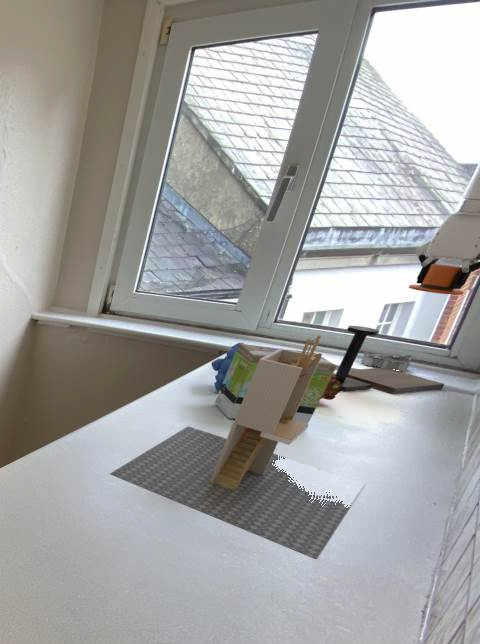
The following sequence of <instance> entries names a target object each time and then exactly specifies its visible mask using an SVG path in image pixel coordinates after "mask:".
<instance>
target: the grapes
mask: <svg viewBox="0 0 480 644" xmlns="http://www.w3.org/2000/svg"><path fill="white" fill-rule="evenodd" d="M239 344H245V343H244V342H238V343H235V344H234V345H232V346H231V347H230V349H229V350H227V351H226V352H225V353H226V356H224V358H217V359H215V360H214V361H211V363H210V364H211V367H212V370H214V371H215V372H217V373H216V374H215V375H214V379H215V382H214V383H213V384H214V388H215V389H216V391H217V392H219V391H220V389H221V386H222V384H223V381H224V379H225V376H226V374H227V371H228V369H229V367H230V364H231V362H232V359H233V357H234V355H235V352H236V350H237V348H238V345H239Z"/></svg>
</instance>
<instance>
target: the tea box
mask: <svg viewBox="0 0 480 644" xmlns="http://www.w3.org/2000/svg"><path fill="white" fill-rule="evenodd" d="M280 348H281V347H280ZM280 348H279V347H270V346H263V345H254V344H246V343H244V344H239V345H238V348H237V350H236V352H235V355H234V357H233V359H232V362H231V364H230V367H229V369H228V371H227V374H226V376H225V379H224V381H223V384H222V386H221V389H220V391H218V393H217V395H216V398H215V401H214V403H215V405H216V406H217V407H218V408H219V410H220V412H222V413H223V414H224V415H225V417H227V418H228V419H234V420H235V419H236V416H237V414H238V411H239V409H240V406H241V404H242V401H243V399H244V396H245V394H246V391H247V389H248V387H249V384H250V382H251V379H252V377H253V374H254V372H255V369H256V367H257V364H258V362H259V360H260V359H261V358H263V357H265V356H266V355H268V354H270V353H272V352H274V351H276V350H278V349H280ZM285 349H286V348H285ZM286 350H289V349H286ZM290 350H291V351H296V352H301V353H302V351H303V350H297V349H296V350H295V349H290ZM307 352H308V351H306V352H305V354H307ZM310 352H311V351H309V352H308V354H310ZM316 354H317V353H316V352H314V353H313V355H316ZM337 367H338V366H337V364H335V363H333V362H331V361H330V360H328V359H326V358H325V357H322V356H321V359H320V362H319V364H318V366H317V368H316V370H315V372H314V375H313V377H312V379H311V381H310V383H309V385H308V388H307V390H306V392H305V394H304V396H303V399H302V401H301V403H300V405H299V407H298V409H297V412H296V414H295V416H294V418H293V420H294V421H298V422H301V423H305V424H308V425H309V422H310V421H311V419H312V417H313V415H314V414H315V411H316V410H317V407H318V405H319V403H320V402H321V400H322V399H321V397H322V395H323V393H324V391H325V389H326V387H327V385H328V383H329V381H330V379H331V377H332V375H333V373H335V372H336V369H337Z"/></svg>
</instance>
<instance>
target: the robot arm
mask: <svg viewBox="0 0 480 644" xmlns="http://www.w3.org/2000/svg"><path fill="white" fill-rule="evenodd" d="M414 252H415V254H416V255H417V257H418V260H419V262H420V264H421V265H420V266H421V269H420V271H419V273H418V275H417V277H416V283H415V284H418V285H421V283H422V282H423V280H424V278H425V276H426V274H427V272H428V270H429V268H430V266H431V265H432V264H437V263H438V262H439V261H440V260H441V259H442V258H446V259H455V260H461V267H462V270H461V272H458V273H457V274H456V276H455V278H454V280H453V282H452V284H451V286H450V288H451V289H456V290H461V288H462V287H464V286H465V284H466V283H467V281H468V279H469V277H470V275H471V274H472V273H474V272H476V271H477V270H479V269H480V162H479V163H478V165H477V167H476V169H475V171H474V173H473V175H472V176H471V179H470V181H469V183H468V184H467V186H466V188H465V190H464V192H463V194H462V196H461V198H460V200H459V202H458V204H457V206H456V208H455V209H454V212H453V213H449V215H447V216H446V218H445V219H444V221H443V222H442V224H441V225H440V226H439V227H438V229H437V230H436V232H435V234H434V235H433V237H432V239H431V240H430V241H429V242H426V243H424V244H422V245H421V246H419V247H417V248H415V250H414Z"/></svg>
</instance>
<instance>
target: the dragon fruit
mask: <svg viewBox="0 0 480 644" xmlns="http://www.w3.org/2000/svg"><path fill="white" fill-rule="evenodd" d="M341 386H342V385H341V383H340V382H339V379H338V378H337V377H333V375H332V377H331V379H330V381H329V383H328V385H327V387H326V389H325V391H324V393H323V395H322V397H321V399H320V400H322V399H323V400H327V401H331V400H334V399H335V398H336V396H337V395H338V394H339V393H341V392H343V391H342V388H341Z"/></svg>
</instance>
